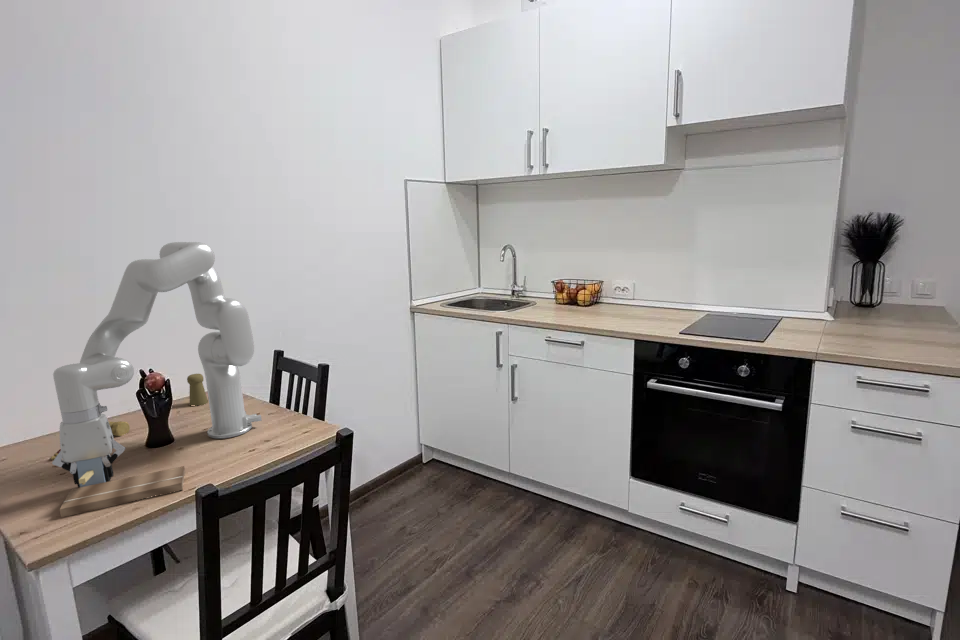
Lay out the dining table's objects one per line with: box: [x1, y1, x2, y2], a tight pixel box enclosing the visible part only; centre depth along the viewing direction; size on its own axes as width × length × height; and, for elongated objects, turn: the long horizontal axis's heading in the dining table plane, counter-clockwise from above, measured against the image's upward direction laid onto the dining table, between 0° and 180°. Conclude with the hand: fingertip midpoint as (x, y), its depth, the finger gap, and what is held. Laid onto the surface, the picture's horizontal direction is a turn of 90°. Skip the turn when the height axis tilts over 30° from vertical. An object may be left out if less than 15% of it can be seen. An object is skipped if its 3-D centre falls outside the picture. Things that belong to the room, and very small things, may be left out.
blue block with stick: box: [76, 457, 106, 487], centre depth 126 cm, size 5×13×7 cm, turn 26°
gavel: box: [50, 420, 131, 461], centre depth 156 cm, size 21×5×10 cm
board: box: [59, 465, 186, 518], centre depth 126 cm, size 24×10×2 cm, turn 116°
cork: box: [186, 373, 209, 407], centre depth 188 cm, size 6×6×11 cm
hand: (95, 482), depth 130 cm, fingers closed on blue block with stick, 5 cm apart
